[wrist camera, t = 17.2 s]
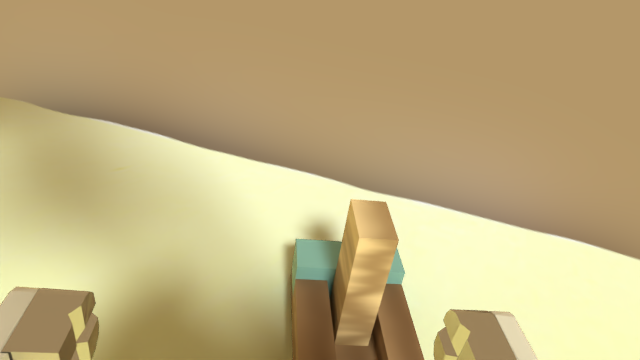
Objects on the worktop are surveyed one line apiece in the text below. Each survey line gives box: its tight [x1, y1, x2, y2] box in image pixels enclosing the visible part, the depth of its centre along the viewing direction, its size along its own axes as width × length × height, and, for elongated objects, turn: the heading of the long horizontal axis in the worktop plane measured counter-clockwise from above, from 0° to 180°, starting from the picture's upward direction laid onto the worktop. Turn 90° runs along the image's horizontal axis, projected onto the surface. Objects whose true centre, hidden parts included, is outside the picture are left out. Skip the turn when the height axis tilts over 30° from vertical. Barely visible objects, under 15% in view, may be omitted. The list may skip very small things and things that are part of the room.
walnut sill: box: [291, 239, 424, 360], centre depth 39 cm, size 10×20×5 cm, turn 4°
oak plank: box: [330, 199, 399, 346], centre depth 39 cm, size 3×5×12 cm, turn 4°
